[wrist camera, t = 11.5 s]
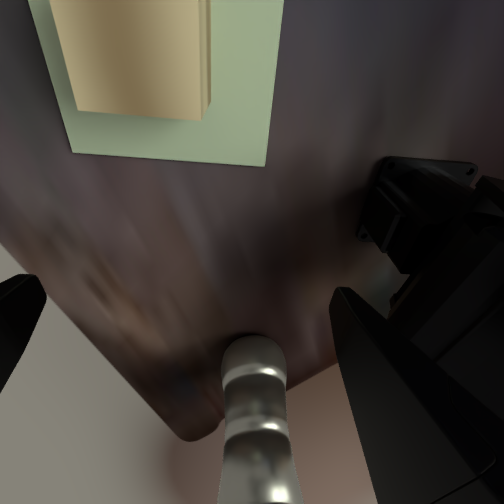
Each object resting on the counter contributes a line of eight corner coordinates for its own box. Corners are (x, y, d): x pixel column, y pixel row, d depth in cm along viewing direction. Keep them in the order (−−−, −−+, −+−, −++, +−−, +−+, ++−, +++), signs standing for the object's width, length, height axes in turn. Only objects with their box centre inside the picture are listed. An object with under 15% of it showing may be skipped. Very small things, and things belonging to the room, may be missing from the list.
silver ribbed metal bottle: (210, 339, 30) (174, 689, 14) (267, 318, 28) (303, 691, 12) (240, 368, 33) (239, 673, 17) (292, 351, 31) (347, 673, 15)
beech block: (211, -20, 13) (197, -50, 9) (211, 101, 16) (200, 120, 12) (98, -34, 12) (30, -72, 8) (120, 93, 15) (77, 110, 11)
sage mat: (297, -126, 11) (298, -131, 11) (264, 164, 18) (264, 166, 18) (-18, -176, 10) (-26, -182, 10) (75, 150, 18) (72, 152, 17)
